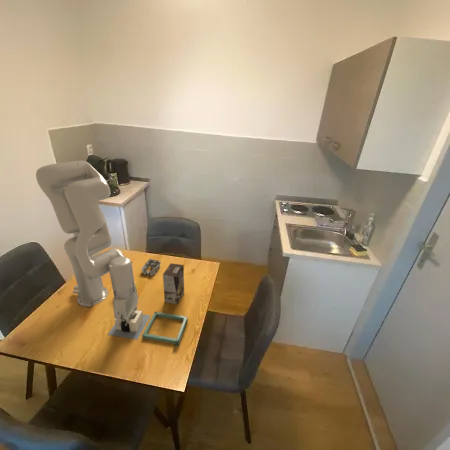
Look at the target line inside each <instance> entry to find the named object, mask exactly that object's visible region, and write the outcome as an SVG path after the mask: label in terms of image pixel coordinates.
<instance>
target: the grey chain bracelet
mask: <svg viewBox="0 0 450 450" xmlns="http://www.w3.org/2000/svg"><path fill="white" fill-rule="evenodd" d="M161 262H162V261H161V260H158V259H157V260H156V259H152V258H148V260H147V261H146V262H145V263H144V264H143V266H142V267H141V269H140V270H141V272H142V274H143V275H144V276H146V275H149V276H150V277H153V276H154V275H156V272H158V271H159V269H160V268H161V264H162V263H161ZM149 268H150V269H149ZM147 269H149V270H147Z"/></svg>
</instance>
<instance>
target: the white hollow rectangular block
mask: <svg viewBox="0 0 450 450" xmlns="http://www.w3.org/2000/svg"><path fill="white" fill-rule="evenodd" d="M133 312H134V313H135V314H134V316H131V317H132V319H129V318H128V324H129V328H130V331H132V332H137V331H138V329H139V327H140V325H141V324H142V322H143V310H138V309H137V310H134V311H133ZM116 322H117V319H115V318H114V325H116ZM122 322H125V320H124V319H122ZM116 329H119V330H121V326H116Z"/></svg>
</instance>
